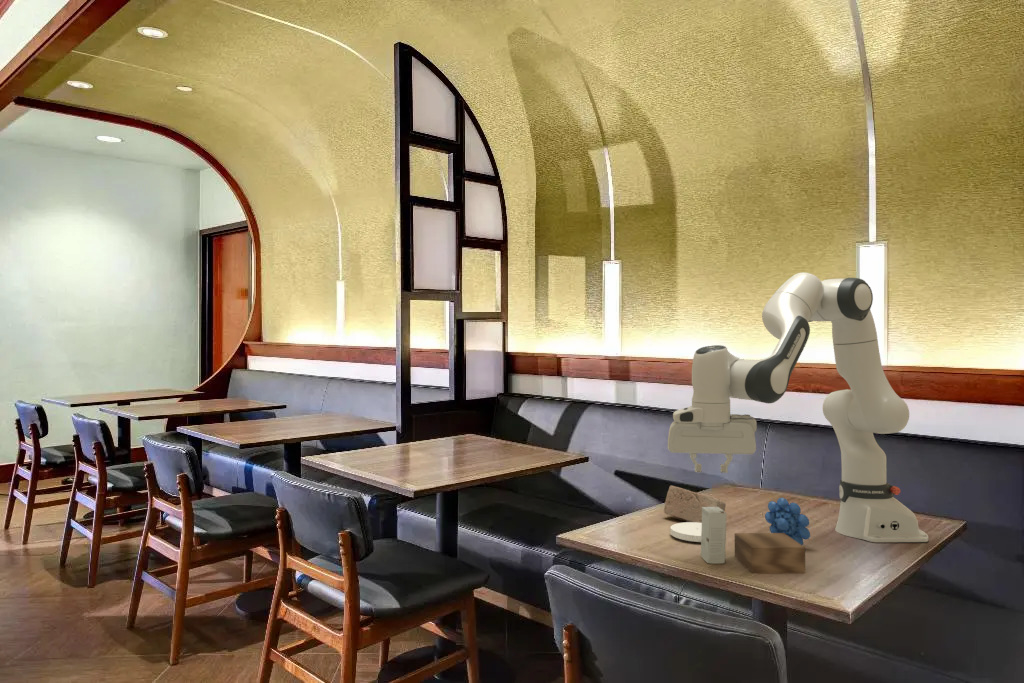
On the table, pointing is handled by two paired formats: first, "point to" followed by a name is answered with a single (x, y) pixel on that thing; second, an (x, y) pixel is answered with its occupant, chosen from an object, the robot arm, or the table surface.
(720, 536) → the skincare box
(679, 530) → the plastic lid
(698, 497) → the brick
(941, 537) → the table surface
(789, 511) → the grapes
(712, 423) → the robot arm
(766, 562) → the walnut block
